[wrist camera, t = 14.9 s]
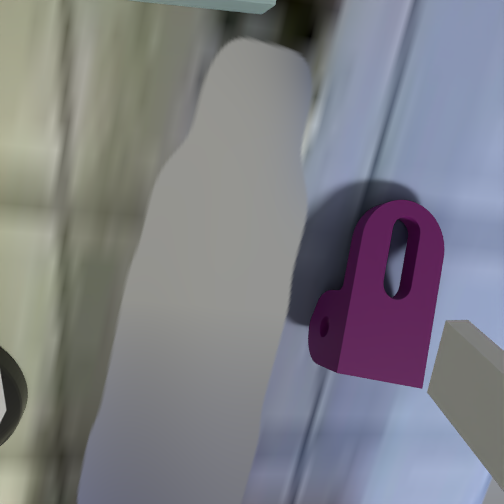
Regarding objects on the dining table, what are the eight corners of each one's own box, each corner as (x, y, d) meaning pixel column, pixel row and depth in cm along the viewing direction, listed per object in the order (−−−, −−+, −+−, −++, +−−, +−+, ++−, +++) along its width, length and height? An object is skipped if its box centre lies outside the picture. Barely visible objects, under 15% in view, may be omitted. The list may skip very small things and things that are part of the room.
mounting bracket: (333, 203, 52) (302, 357, 50) (371, 189, 44) (336, 372, 42) (403, 223, 55) (376, 372, 53) (451, 213, 47) (422, 388, 44)
